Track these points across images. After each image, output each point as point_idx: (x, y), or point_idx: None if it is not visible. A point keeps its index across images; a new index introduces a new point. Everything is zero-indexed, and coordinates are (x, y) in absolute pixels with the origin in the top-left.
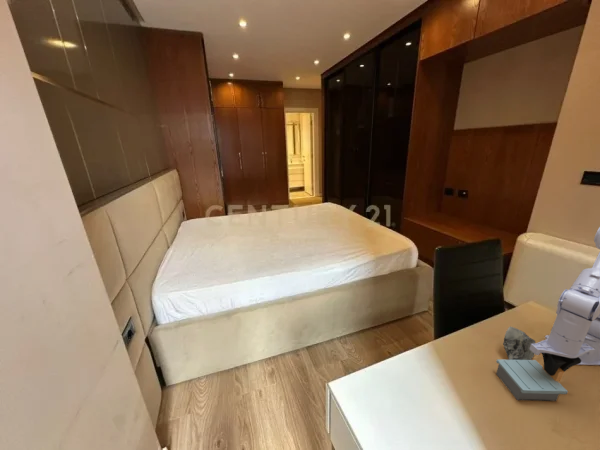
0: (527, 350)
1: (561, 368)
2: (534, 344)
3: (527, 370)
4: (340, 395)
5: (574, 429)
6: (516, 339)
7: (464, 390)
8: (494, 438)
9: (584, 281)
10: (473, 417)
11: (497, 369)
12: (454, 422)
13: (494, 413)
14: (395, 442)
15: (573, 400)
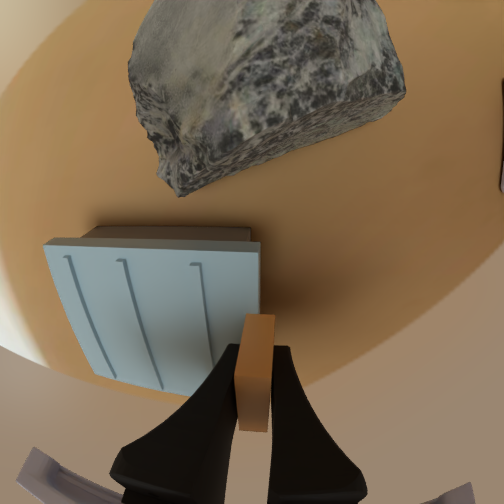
0: (285, 143)
1: (272, 423)
2: (32, 490)
3: (146, 318)
4: None
5: None
6: (164, 100)
7: (20, 281)
8: (62, 368)
9: None
10: (36, 335)
11: (80, 237)
12: (17, 334)
13: (66, 338)
14: None
15: (323, 337)
